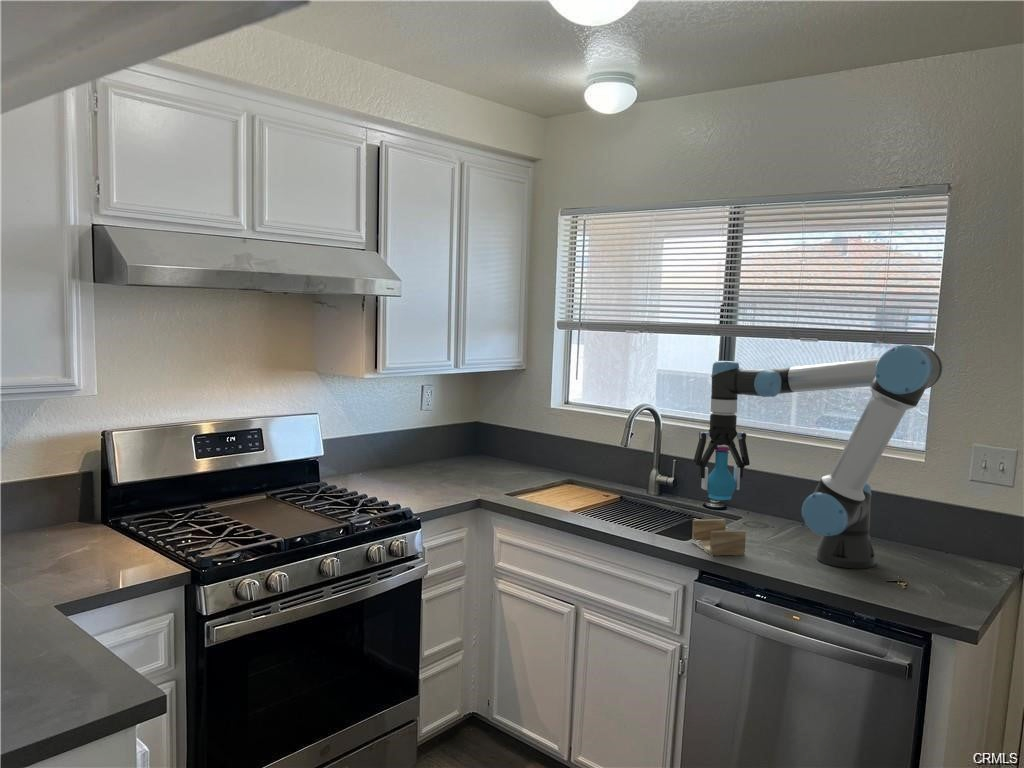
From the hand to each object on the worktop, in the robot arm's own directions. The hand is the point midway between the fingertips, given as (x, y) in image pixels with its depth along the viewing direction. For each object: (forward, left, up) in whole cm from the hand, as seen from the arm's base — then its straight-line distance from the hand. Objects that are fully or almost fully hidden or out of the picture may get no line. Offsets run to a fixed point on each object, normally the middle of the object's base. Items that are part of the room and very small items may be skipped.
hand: (720, 488), depth 223 cm
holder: (0, 0, -18) cm, 18 cm away
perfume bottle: (0, 0, -3) cm, 3 cm away
